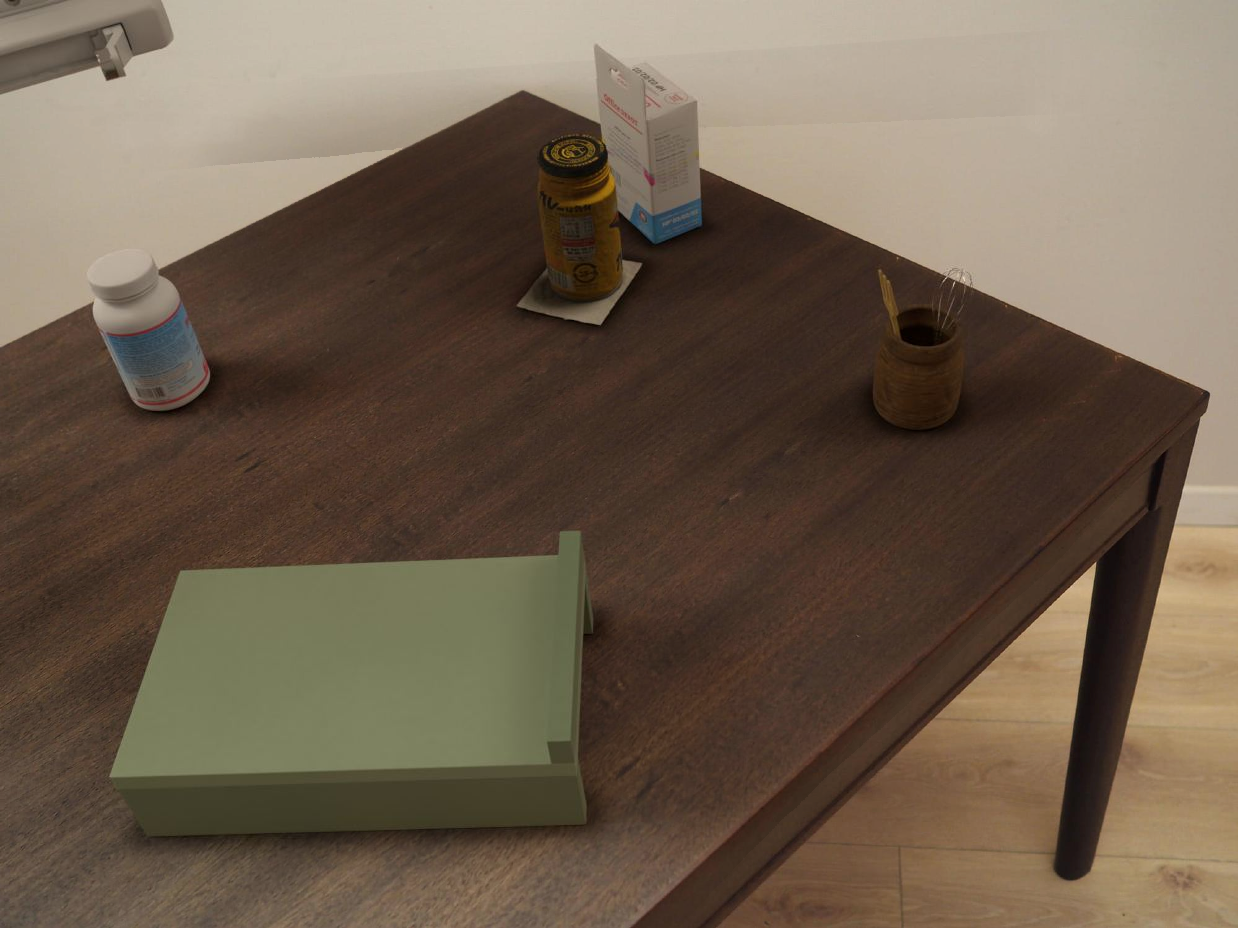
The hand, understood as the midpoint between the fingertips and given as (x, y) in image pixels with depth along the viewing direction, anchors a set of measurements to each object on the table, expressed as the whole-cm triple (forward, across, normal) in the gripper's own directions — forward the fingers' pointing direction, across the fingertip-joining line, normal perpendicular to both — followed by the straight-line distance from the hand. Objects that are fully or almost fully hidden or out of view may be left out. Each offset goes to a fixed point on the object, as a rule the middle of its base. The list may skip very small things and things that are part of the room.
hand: (47, 88), depth 91 cm
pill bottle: (+12, 0, +20) cm, 23 cm away
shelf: (+49, +4, +19) cm, 53 cm away
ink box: (+11, +42, +20) cm, 48 cm away
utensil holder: (+43, +46, +19) cm, 66 cm away
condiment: (+18, +32, +20) cm, 42 cm away
